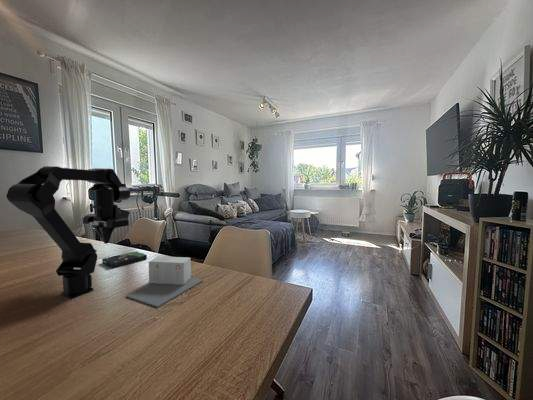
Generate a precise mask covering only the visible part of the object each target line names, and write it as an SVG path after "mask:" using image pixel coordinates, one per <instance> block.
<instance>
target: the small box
mask: <svg viewBox="0 0 533 400" xmlns="http://www.w3.org/2000/svg"><path fill="white" fill-rule="evenodd" d="M191 264H192V261H191V257H187V256H186V257H184V256H183V257H182V256H161V255H159V256H156V257H154V258H153V259H151V260H149V261H148V283H149V284H152V283H157V284H175V285H184V284H185V283H186V282H187V281H188V280H189V279H190V278H191V276H192V274H191V273H192V272H191V271H192V270H191V268H192V267H191Z"/></svg>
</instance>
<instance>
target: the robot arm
mask: <svg viewBox="0 0 533 400" xmlns="http://www.w3.org/2000/svg"><path fill="white" fill-rule="evenodd" d="M62 181H86V182H88V183H91V184H93V185H92V186H90V187H89V189H88V190H89V191H94V203H95V204H93V205H92V209H95V214H89V215H84V217H83V218H82V223H83V224H86V225H87V224H88V225H89V223H94V224H93V225H91V227H92V228H93V229H94V230H95V231H96V233H97V234H98V236H99V238H100V239H101V241H102V242H103V243H104V244H105V245H106V244H109V242H110V241H111V237H112V234H113V231H114V230H115V229H116V228H121V227H127V226H129V225H130V221H129V220H130V219H129V218H130V217H129V216H130V214H131V211H128V210H126V209H121V207H119V206H118V205H117V204H115V202H118V201H119V202H121V201H125V200H126V201H127V200H128V199H130V198H131V194H132V193H131V190H130V189H129V188H128V187H127V186H126V185H127V184H126V183H122V182H121V180H120V178H119V176H118V175H117V173H116V172H115V169H112V168H101V167H99V168H88V169H81V168H80V169H79V168H70V167H60V166H56V165H55V166H52V165H51V166H47V165H46V166H43V167H42V166H41V167H40V168H39V169H37V171H36V172H34V173H33V174H31V175H29V176H26V177H25V178H23V179H21V180H20V181H19V182H17V183H16V184H13V185H11V186H10V187H8V190H7V194H5V195H6V199H7V200H8V202H10V204H12V205H13V206H14V207H16V208H17V209H18V210H20V211H21V212H24V213H26V214H27V215H30V216H32V218H34V219H35V221H36V222H37V223H38V224H39V225H40V226H41V227H42V229H43V230H44V232H46V233H47V234H48V236H49V237H50V238H51V239H52V240H53V242H54V243H55V244H56V245H57V246H58V248H59V249H60V250H61V259H62V262H61V263H60V265H59V266H58V267H57V268H56V270H55V272H56V274H57V276H58V277H60V276H61V277H62V288H63V289H62V290H63V291H61V292H60V295H62V296H64V297H67V298H69V299H73V298H76V297H78V296H81V295H84V294H87V293H89V292H92V291H94V288H93V282H92V280H93V279H92V274H93V273H94V272H95V269H96V265H97V261H98V254H97V249H95V248H94V246H93V244H92V243H91V242H81V241H80V240H79V239H78V237H77V236H76V235H75V234H74V232H73V231H72V230H71V228H70V226H68V224H67V223H66V222H65V220H64V219H63V218H62V216H61V215H60V213H58V211H57V210H56V198H55V197H54V195H55V194H56V193H57V192H58V190H59V189H60V184H61V182H62Z"/></svg>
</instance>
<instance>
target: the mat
mask: <svg viewBox="0 0 533 400" xmlns="http://www.w3.org/2000/svg"><path fill="white" fill-rule="evenodd" d="M202 281H203V282H204V279H200V278H196V277H191V278H190V279H189V280H188V281H187V282H186V283H185V284H184V285H175V284H157V283H149V284H148V285H147V286H143V287H142V288H140V289H138V290H135V291H133V292H132V293H129V294H125V295H126V298H128V299H131V300H133V301H136V302H139V303H142V304H146V305H149V306H151V307H154V308H157V309H158V308H160V307H162V306H163V305H165V304H167V303H168V302H170V301H172V300H174V299H176V298H177V297H179V296H180V295H182V294H184V293H185V291H186V292H187V291H189V290H191V289H192V288H194V287H195V285H196V286H198V285H199V284H201V283H203V282H202ZM200 282H201V283H200ZM197 284H198V285H197ZM190 288H191V289H190Z"/></svg>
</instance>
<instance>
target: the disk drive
mask: <svg viewBox="0 0 533 400" xmlns="http://www.w3.org/2000/svg"><path fill="white" fill-rule="evenodd" d="M147 256H148V255H147V254H145V253H144V252H139V251H130V252H126V253H123V254H117V255H113V256H108V257H104V258H102V260H101V262H102V264H103V265H104V266H106V267H108V268H109V269H111V270H112V269H116V268H117V269H118V268H120V267H124V266H127V265H131V264H134V263H135V262H136V263H138V262H143V261H146V259H147V260H148V257H147Z"/></svg>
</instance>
